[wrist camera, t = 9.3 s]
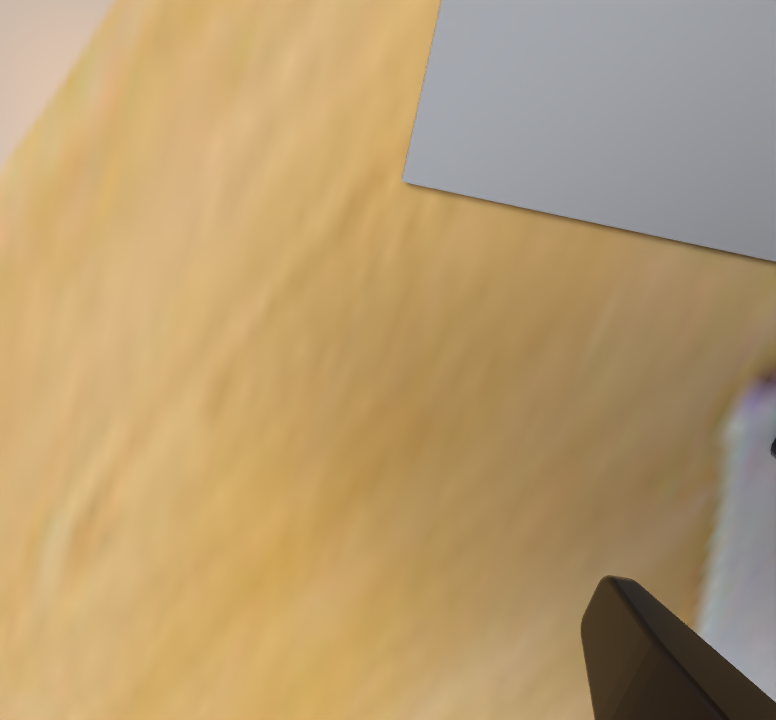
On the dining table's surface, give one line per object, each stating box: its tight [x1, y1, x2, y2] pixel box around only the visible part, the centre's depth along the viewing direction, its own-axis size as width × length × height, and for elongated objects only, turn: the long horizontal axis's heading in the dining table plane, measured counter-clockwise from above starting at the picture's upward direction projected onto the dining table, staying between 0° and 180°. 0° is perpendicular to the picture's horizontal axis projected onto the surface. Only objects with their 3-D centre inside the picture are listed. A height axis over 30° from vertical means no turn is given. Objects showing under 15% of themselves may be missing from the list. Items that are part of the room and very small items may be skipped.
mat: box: [402, 0, 776, 262], centre depth 19 cm, size 12×9×1 cm
